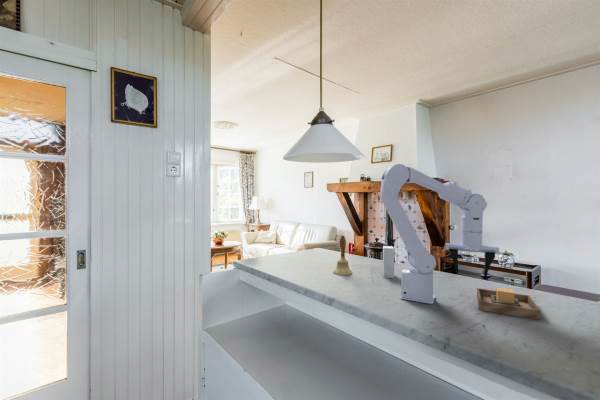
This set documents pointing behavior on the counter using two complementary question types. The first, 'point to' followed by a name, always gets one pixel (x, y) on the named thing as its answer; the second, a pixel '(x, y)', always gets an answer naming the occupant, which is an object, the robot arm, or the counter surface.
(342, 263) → the hand bell
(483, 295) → the box
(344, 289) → the counter surface
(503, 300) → the plug
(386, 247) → the skincare box
